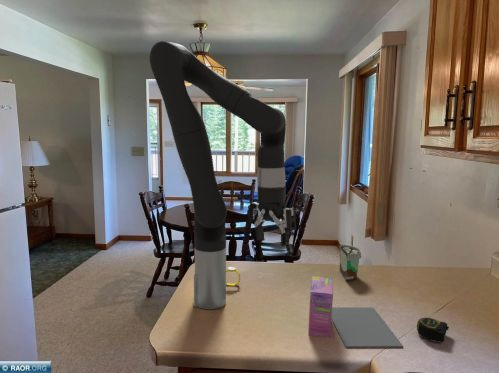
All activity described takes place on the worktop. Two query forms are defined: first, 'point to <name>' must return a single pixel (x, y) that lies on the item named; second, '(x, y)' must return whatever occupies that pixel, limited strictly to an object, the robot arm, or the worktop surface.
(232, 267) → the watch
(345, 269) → the food container
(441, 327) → the tape measure
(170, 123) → the robot arm
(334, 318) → the mat
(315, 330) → the box
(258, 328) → the worktop surface
